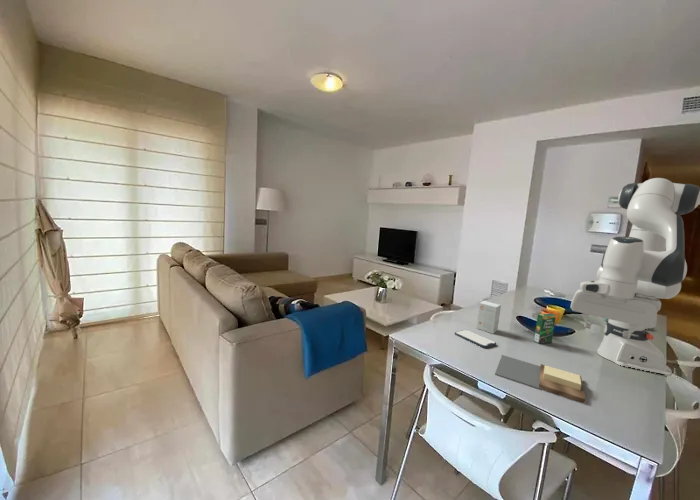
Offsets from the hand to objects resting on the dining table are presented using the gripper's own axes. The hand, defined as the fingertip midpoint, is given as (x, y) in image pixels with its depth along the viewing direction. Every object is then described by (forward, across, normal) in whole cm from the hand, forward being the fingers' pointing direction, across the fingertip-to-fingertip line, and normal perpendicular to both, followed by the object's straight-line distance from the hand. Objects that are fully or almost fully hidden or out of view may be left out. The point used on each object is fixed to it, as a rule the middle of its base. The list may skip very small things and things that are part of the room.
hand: (606, 332), depth 95 cm
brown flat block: (+21, +8, 0) cm, 23 cm away
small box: (+21, +39, -34) cm, 56 cm away
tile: (+20, +8, 0) cm, 21 cm away
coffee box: (+21, +16, -38) cm, 46 cm away
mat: (+21, +20, 0) cm, 30 cm away
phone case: (+22, +40, -17) cm, 49 cm away
